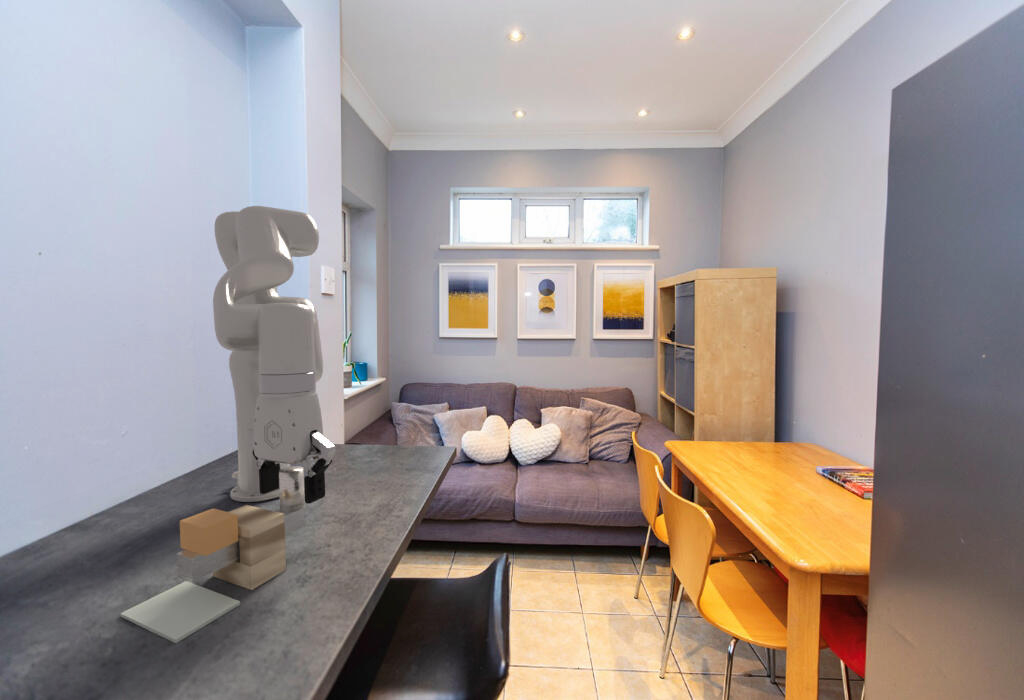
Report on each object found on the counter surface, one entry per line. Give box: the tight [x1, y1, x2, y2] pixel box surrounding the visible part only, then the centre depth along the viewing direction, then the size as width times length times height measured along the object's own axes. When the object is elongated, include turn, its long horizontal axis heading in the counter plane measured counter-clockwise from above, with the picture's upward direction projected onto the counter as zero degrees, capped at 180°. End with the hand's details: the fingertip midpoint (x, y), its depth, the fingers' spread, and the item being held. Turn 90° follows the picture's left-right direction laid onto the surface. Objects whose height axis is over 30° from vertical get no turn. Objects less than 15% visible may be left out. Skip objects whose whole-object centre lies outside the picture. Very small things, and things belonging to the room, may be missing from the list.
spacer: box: [179, 508, 238, 556], centre depth 54 cm, size 5×4×4 cm
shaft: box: [176, 465, 307, 584], centre depth 58 cm, size 3×17×9 cm, turn 156°
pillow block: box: [212, 504, 287, 591], centre depth 58 cm, size 8×5×8 cm, turn 66°
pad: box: [120, 580, 241, 644], centre depth 51 cm, size 11×7×1 cm, turn 66°
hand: (292, 495), depth 64 cm, fingers open, 9 cm apart
